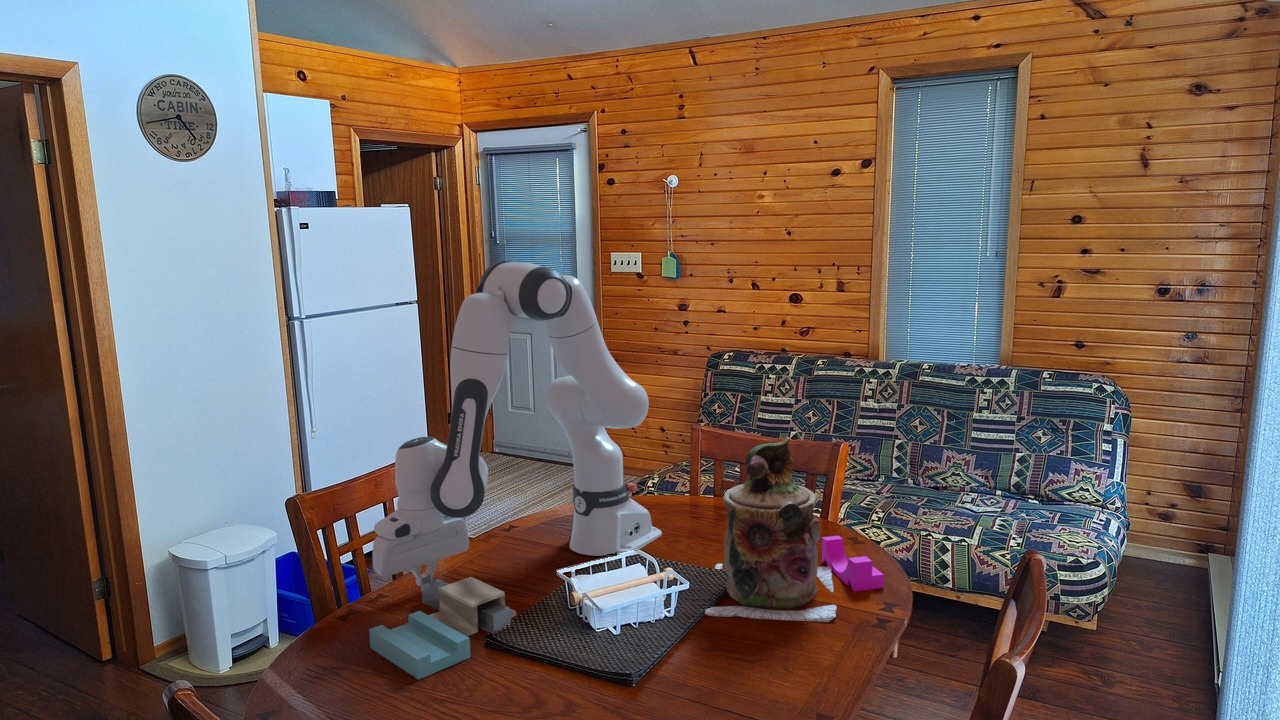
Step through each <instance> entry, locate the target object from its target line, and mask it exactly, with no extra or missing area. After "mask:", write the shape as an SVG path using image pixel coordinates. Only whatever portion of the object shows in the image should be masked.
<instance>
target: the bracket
mask: <svg viewBox="0 0 1280 720" xmlns="http://www.w3.org/2000/svg"><path fill="white" fill-rule="evenodd" d="M439 600H440V611H439V610H438V611H436V612H433V613H432V614H428V616H430V617H432V618H434V619H436V620H438V621H439V622H441V623H443V624H445V625H447V626H449V627H450V628H452V629H454V630H456V631H458V632H460V633H461V634H463V635H465V636H467V637H469V636H473V635H474V634H476V633H478V632H479V628H478V617H477V606H478V605H480V604H483V603H486V602H488V601H491V600H492V601H494V602H497V603H499V604H502V605H504V606H506V594H505V591H504V590H501V589H499V588H496V587H494V586H492V585H491V584H488V583H486V582H483V581H481V580H479V579H477V578H474V577H472V576H469V577H466V578H463V579H461V580H458V581H455V582H452V583H449V585H446V586H443V587H440V588H439ZM510 613H511V619H513V618H515V617H516V616H517V611H516V610H514V609H511V608H510ZM514 616H515V617H514Z"/></svg>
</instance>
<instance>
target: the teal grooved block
mask: <svg viewBox="0 0 1280 720" xmlns="http://www.w3.org/2000/svg"><path fill="white" fill-rule="evenodd" d="M407 616H408V617H407V619H408V620H407V621H408V622H407V623H405V624H402V625H399V626H397V627H394V628H392V629H390V628H388V627H386V626H385V625H383V624H380V625H377V626H374V627H371V628H369V629H368V633H369V645H370V647H369V648H370V649H371V650H373V651H374V652H376V653H377V654H379V655H380V656H382V657H383V658H384V659H386V660H388V661H389V662H391V663H392V664H394V665H395V666H397V667H399V669H401V670H403V671H404V672H406V673H407V674H409V675H411V676H412V677H414V678H415V679H417V680H418V681H419V680H422V679H424V678H426V677H428V676H431V675H433V674H435V673H438V672H440V671H442V670H444V669H447V668H449V667H451V666H454V665H456V664H459V663H461V662H463V661H465V660H467V659H470V658H471V639H470V637H469V636H465V635H463V634H461V633H460V632H458V631H456V630H454V629H452V628H450V627H449V626H447V625H445V624H443V623H441V622H439V621H438V620H436V619H434V618H432V617H430V616H429V614H427V613H424V612H423V611H421V610H418V611H415V612H413V613H410V614H408V615H407Z"/></svg>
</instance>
